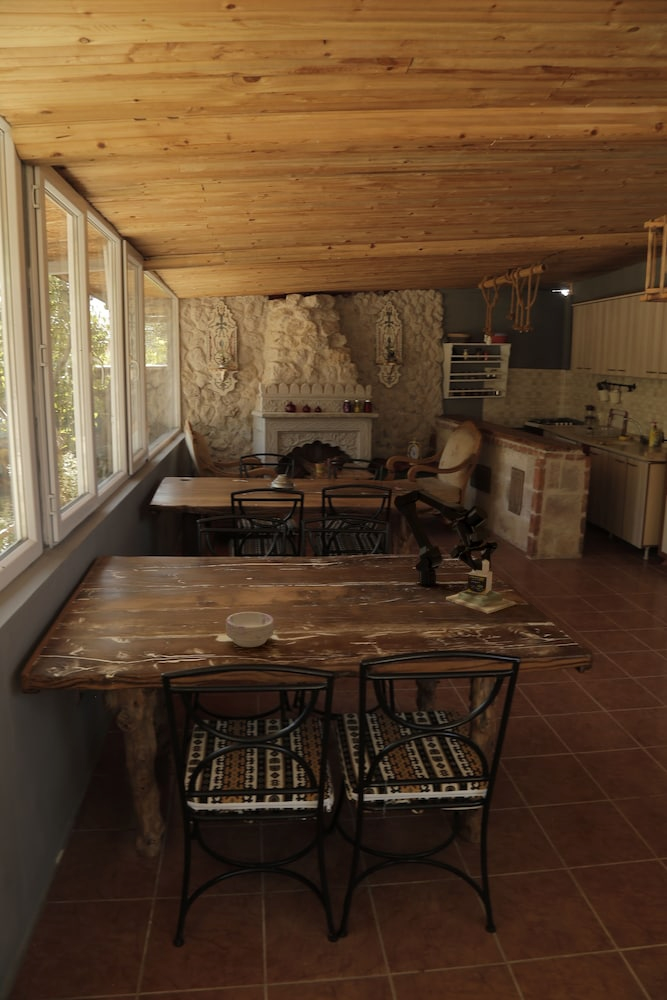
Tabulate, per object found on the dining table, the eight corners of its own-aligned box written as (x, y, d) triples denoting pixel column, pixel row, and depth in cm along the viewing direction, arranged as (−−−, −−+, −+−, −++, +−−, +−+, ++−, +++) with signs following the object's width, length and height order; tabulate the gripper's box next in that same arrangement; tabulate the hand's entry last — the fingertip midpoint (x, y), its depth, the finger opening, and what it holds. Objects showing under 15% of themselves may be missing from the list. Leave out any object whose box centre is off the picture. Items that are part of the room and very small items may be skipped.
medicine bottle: (467, 591, 284) (468, 560, 281) (473, 586, 290) (475, 556, 287) (485, 594, 280) (487, 563, 278) (491, 589, 286) (493, 559, 284)
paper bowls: (283, 641, 245) (283, 618, 243) (248, 655, 233) (248, 630, 232) (251, 630, 255) (251, 607, 253) (216, 642, 243) (215, 618, 242)
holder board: (445, 599, 288) (446, 590, 288) (472, 591, 299) (473, 583, 298) (488, 613, 274) (488, 604, 273) (515, 604, 284) (515, 595, 283)
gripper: (455, 524, 280) (471, 561, 272) (497, 520, 287) (513, 555, 280) (443, 540, 288) (458, 576, 281) (483, 535, 296) (499, 570, 288)
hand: (482, 569), depth 282 cm, fingers closed on medicine bottle, 6 cm apart
